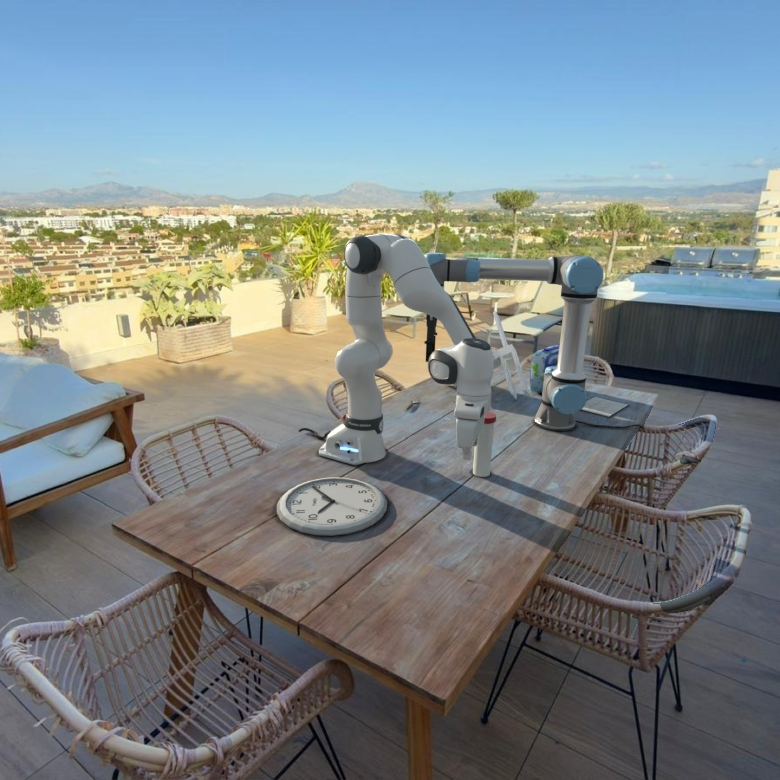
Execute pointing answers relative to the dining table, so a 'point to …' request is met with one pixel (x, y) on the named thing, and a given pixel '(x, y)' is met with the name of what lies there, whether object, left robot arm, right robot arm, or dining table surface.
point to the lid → (489, 418)
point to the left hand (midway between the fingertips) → (470, 451)
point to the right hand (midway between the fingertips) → (430, 357)
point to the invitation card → (603, 406)
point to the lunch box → (542, 366)
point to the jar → (483, 451)
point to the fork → (413, 402)
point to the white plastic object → (505, 355)
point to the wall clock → (331, 506)
